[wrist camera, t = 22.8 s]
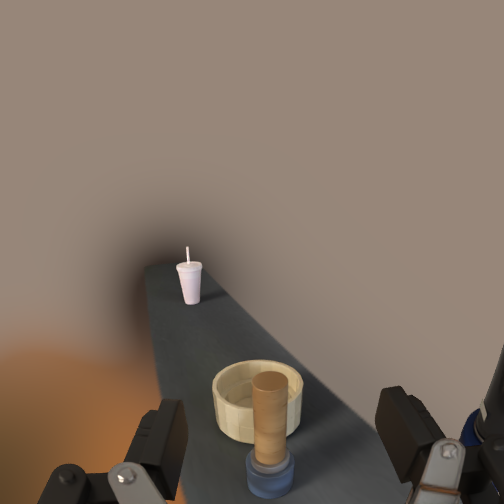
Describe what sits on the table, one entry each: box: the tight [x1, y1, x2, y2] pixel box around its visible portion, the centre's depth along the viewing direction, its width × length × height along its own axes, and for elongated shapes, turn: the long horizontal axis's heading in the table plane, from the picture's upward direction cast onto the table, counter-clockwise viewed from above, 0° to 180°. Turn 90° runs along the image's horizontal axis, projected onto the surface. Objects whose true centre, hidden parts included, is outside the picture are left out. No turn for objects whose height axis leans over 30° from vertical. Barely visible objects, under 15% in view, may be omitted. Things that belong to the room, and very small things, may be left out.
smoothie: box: [177, 247, 202, 304], centre depth 77 cm, size 6×6×14 cm
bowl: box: [212, 360, 303, 444], centre depth 36 cm, size 11×11×6 cm
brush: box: [246, 371, 295, 499], centre depth 24 cm, size 5×5×14 cm
